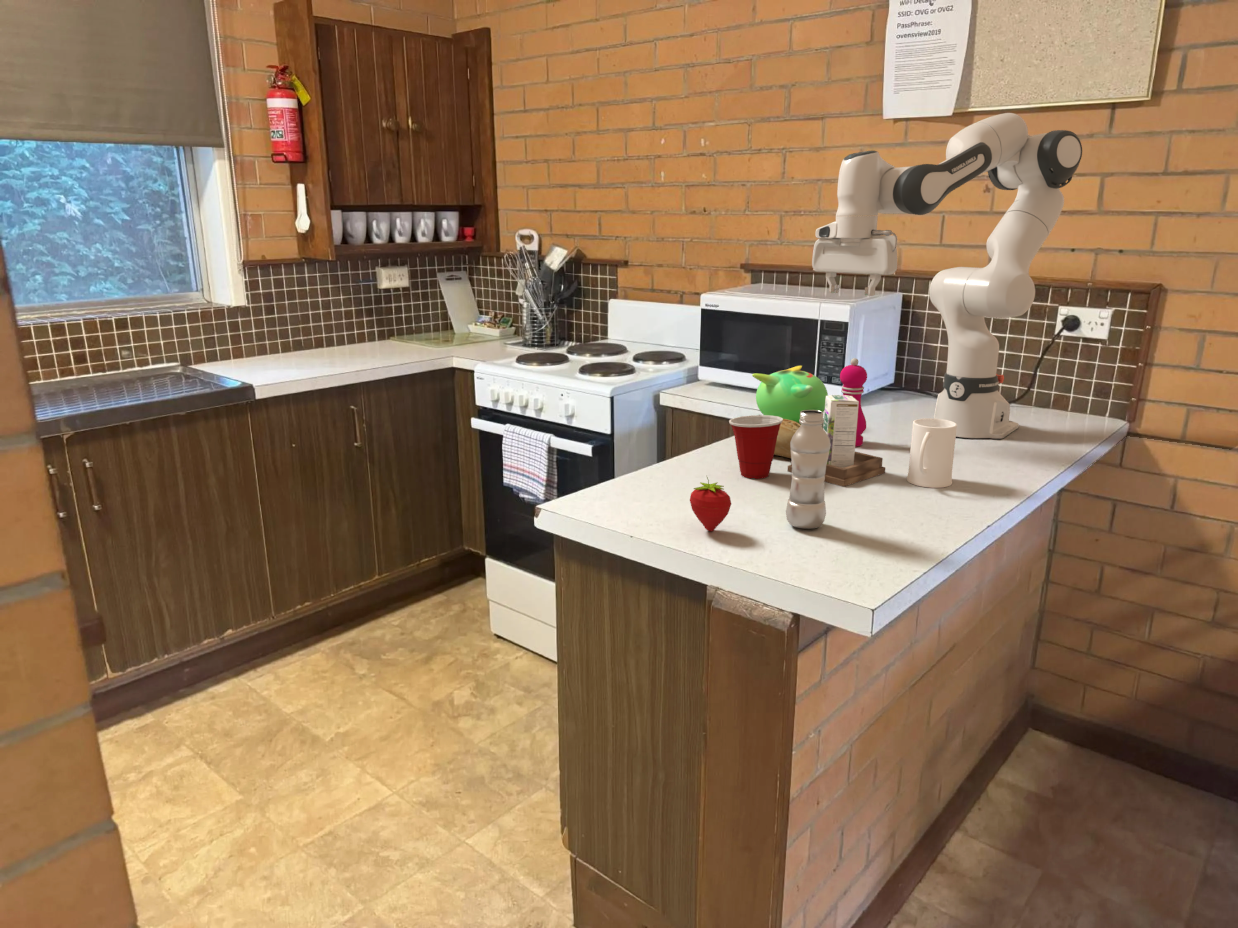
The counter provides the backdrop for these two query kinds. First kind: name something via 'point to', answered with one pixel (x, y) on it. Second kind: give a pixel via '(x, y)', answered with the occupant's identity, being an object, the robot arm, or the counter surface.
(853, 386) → the pepper mill
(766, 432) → the plastic cup
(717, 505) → the strawberry
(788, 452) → the bread roll
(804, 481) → the plastic bottle
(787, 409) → the toy bird
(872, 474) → the walnut stand
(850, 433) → the syrup box
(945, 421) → the mug
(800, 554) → the counter surface
